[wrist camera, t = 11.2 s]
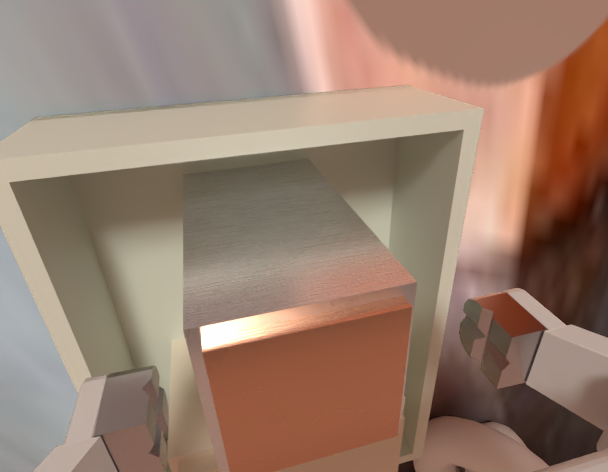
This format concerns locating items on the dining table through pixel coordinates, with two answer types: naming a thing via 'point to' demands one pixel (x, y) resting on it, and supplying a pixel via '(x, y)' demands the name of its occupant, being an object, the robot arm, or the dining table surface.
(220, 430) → the copper capped metal stub
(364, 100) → the tote
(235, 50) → the dining table surface
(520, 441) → the pretzel
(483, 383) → the dining table surface
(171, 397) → the beige rectangular block
